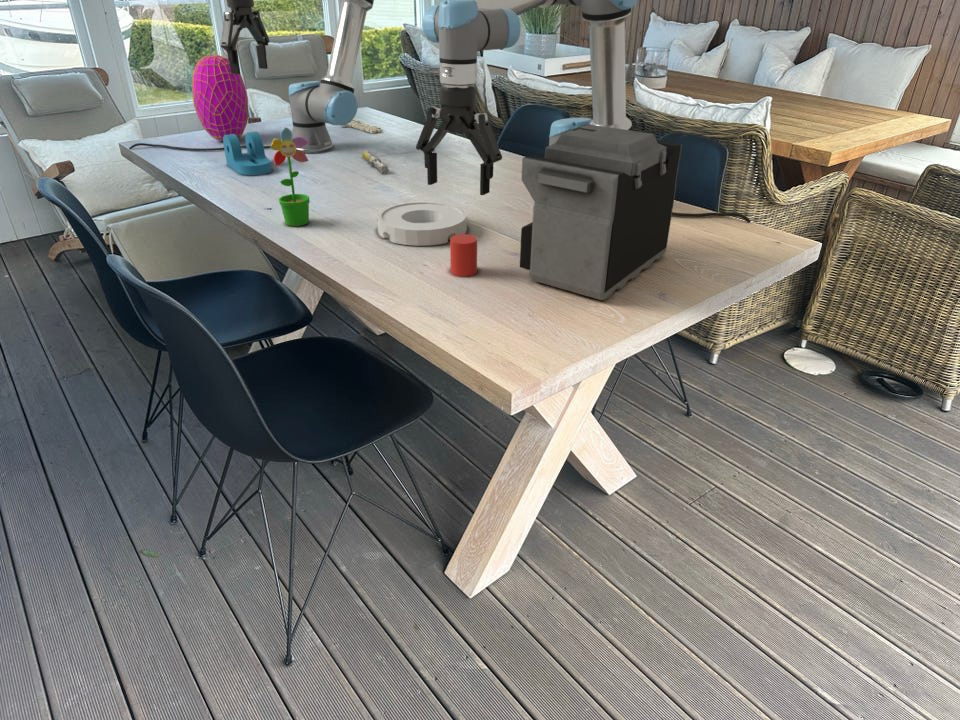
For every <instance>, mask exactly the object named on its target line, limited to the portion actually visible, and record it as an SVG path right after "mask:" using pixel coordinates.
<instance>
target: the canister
mask: <svg viewBox="0 0 960 720" xmlns="http://www.w3.org/2000/svg"><path fill="white" fill-rule="evenodd" d="M449 247H450V249H449V253H450V255H449V256H450V274H451V275H453V276H455V277H461V278H464V277H465V278H466V277H472V276H475V275H476V274H477V273H478V238H477V236H475V235H473V234H467V233H465V234H459V235H454V236H452V237H451V238H450V240H449Z"/></svg>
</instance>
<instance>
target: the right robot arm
mask: <svg viewBox="0 0 960 720" xmlns="http://www.w3.org/2000/svg"><path fill="white" fill-rule="evenodd" d="M637 2H638V0H441V1H440V3H439V4H434V5H431V6H429V7H427V9H426V10H425V12H424V14H423V17H422V21H421V22H422V23H421V25H422V30H423V34H424V35H425V37H426V39H427V40H428V41H430V42H431V43H436V44H438V52H439V53H438V54H439V55H438V57H439V61H438V62H439V63H438V65H439V83H440V84H441V85H440V86H439V104H440V107H439V106H438V105H433V106H429V107H427V115H426V120H425V122H424V124H423V127H422V130H421V133H420V134H419V138H418V140H417V142H416V145H415V148H416V150H418V151H421V152H422V153H423V156H424V157H423V160H424V161H423V162H424V168H425V169H426V172H427V185H428V186H432V185H434V184H437V183H438V152H436V149H437V147H439V145H440V143H441V142H442V140H443V139H444V138H445V136H446V135H447V134H448V132H449V133H457V134H460V135H462V134H464V135H465V137H467V138H468V139H469V141H470V143H471V144H472V146H473V147H474V149H475V150H476V152H477V154H478V155H479V157H480V159H481V160H482V163H480V171H479V173H480V174H479V175H480V176H479V195H480V196H485V195H487V194H489V193H490V191H491V190H490V188H491V186H490V185H491V184H490V183H491V180H492V179H493V178H494V164H495V163H497V162H499V161H502V160H503V155H502V152H501V149H500V147H499V145H498V141H497V139H496V136H495V134H494V131H493V128H492V125H491V120H490V119H491V117H490V113H489V112H482V113H477V111H476V106H477V87H476V85H475V84H477V82H478V75H477V74H478V72H477V71H478V70H477V69H478V63H477V62H478V52H480V51H493V50H494V51H495V50H499V51H502V50H504V49H509V48H511V47H513V46H515V45H516V44H517V42H518V41H519V39H520V36H521V30H522V29H521V21H520V19H519V16H520V15H522V14H525V13H526V12H529V11H531V10H534V9H536V8H539V9H546V8H549V7H551V6H555V5H556V6H558V5H559V6H560V5H568V6H577V7H578V6H579V7H581V17H582V18H581V19H582V20H583V21H584V22H585V23H586V24H588V32H589V33H588V35H589V36H588V37H589V58H590V81H591V82H590V83H591V103H592V105H591V106H592V107H591V108H592V118H590V117H569V118H568V117H567V118H562V119H557V120H554V121H553V122H552V123H551V125H550V129H549V130H550V131H549V135H548V139H549V141H548V146H550V145H552V144H554V143H556V141H557V140H558V138H559V137H560V135H561V134H563V133H566V132H569V131H577V130H579V128H580V127H583V126H586V125H589V124H590V125H597V126H603V127H610V128H617V129H623V130H630V131H633V122H632V120H631V119H630V118H629V117H627V98H626V97H627V95H626V94H627V91H626V88H627V87H626V82H627V81H626V20H627V18H629V16H630V15H631V14H632V8H633V7H634V6H635V5H636V4H637ZM439 118H440V119H441V120H442V122H441V123H440V124H439V126H438V127H437V130H436V132H435V133H434V134H433V132H434V130H435V127H436V125H437V122H438V120H439ZM476 124H477V125H478V127H479V129H478V127H477V125H476ZM479 131H480V133H481V134H480V133H479ZM432 134H433V135H432ZM672 216H674V217H683V218H684V217H687V218H701V217H702V218H704V217H737V218H741V219H743V220H744V221H745V222H746V223H748V224H749V223H750V224H751V223H752V221H751V219H750V218H749V217H748V216H746V215H745V214H742V213H740V212H703V213H701V212H700V213H689V212H688V213H687V212H676V211H675V212H673V211H672Z"/></svg>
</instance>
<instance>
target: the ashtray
mask: <svg viewBox="0 0 960 720" xmlns="http://www.w3.org/2000/svg"><path fill="white" fill-rule="evenodd" d="M467 217H468V216H467V211H465V210H464V209H463V208H462V207H460V206H457V205H455V204H451V203H448V202H442V201H432V200H431V201H430V200H414V201H407V202H400V203H395V204H392V205H388V206H386V207H383V208H382V209H381V210H379V212H378V213H377V217H376V219H377V233H378V235H379V236H380V238H382V239H389V242H391V243H394V244H399V245H403V246H415V247H420V246H421V247H422V246H423V247H425V246H438V245H444V244H447V243H448V242H449V241H450V238H451V237H452V236H454V235H459V234H467V231H468V228H467V227H468V226H467V225H468V224H467V223H468V218H467Z"/></svg>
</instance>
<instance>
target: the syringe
mask: <svg viewBox="0 0 960 720" xmlns="http://www.w3.org/2000/svg"><path fill="white" fill-rule="evenodd" d="M361 155H362V158H363V159H364V160H366V161H367V162H368V163H369V164H370V166H371V167H373V168H374V167H375V168H377V169H378V170H379V172H381V174H383V175H384V174H387V173H388V172H390V170H389V168H388V166H387V165H384V164H383V163H382V160H381V159H379V158H377V157H376V156H374V155H373V154H372V153H370V151H369V150H367V149H365V150H363V151H362V154H361Z"/></svg>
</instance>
